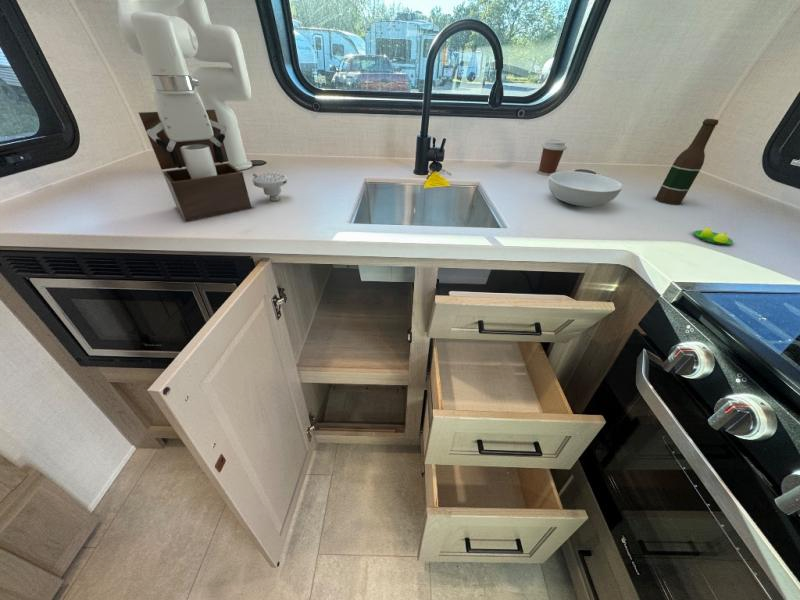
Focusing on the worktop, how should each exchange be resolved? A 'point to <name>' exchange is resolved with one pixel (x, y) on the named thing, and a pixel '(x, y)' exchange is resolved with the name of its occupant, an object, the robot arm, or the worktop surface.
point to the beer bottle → (686, 167)
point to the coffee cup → (551, 156)
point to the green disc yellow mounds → (713, 236)
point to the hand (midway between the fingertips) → (200, 164)
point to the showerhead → (270, 184)
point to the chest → (208, 192)
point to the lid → (163, 155)
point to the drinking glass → (198, 160)
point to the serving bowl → (583, 188)
